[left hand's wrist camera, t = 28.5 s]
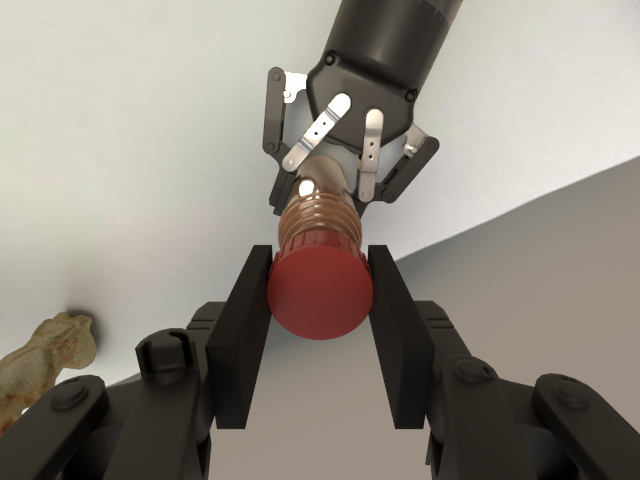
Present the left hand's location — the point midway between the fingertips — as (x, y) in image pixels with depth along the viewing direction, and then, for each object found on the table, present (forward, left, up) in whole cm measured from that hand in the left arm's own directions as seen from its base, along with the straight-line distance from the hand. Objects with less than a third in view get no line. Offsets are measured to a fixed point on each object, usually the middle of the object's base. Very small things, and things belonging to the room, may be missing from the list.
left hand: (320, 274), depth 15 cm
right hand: (-2, -2, -14) cm, 14 cm away
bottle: (0, 0, -21) cm, 21 cm away
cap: (0, 0, +2) cm, 2 cm away
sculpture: (-34, -3, -21) cm, 40 cm away
